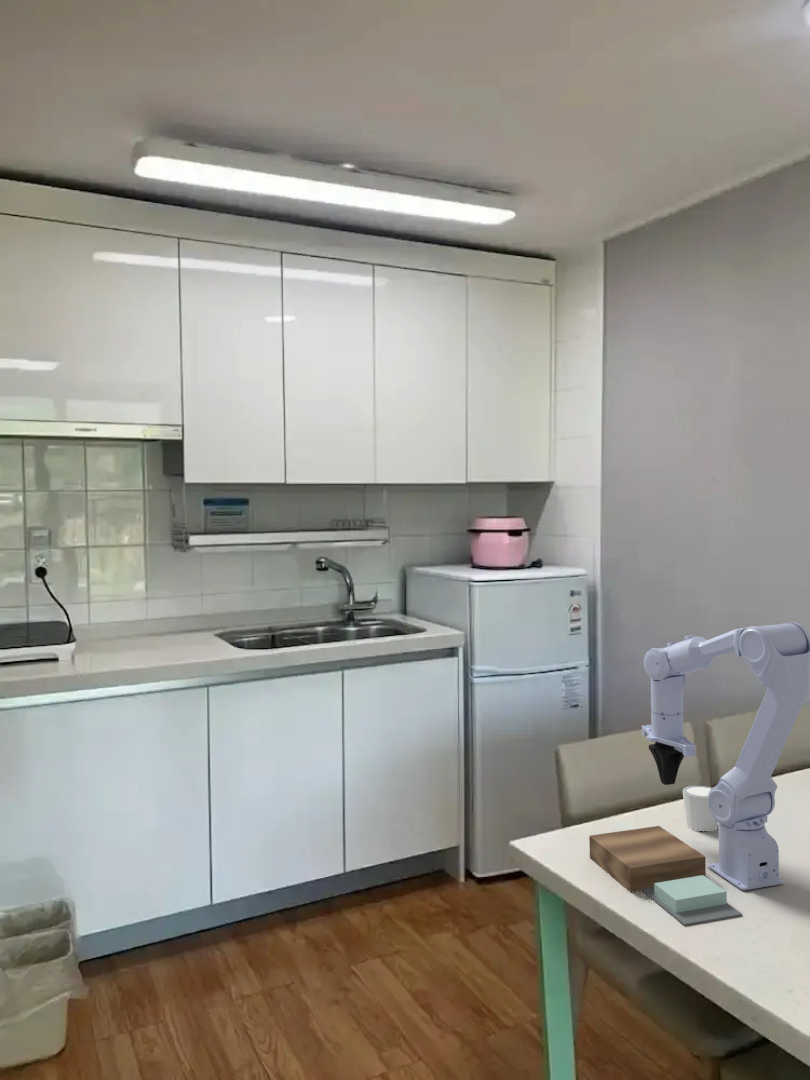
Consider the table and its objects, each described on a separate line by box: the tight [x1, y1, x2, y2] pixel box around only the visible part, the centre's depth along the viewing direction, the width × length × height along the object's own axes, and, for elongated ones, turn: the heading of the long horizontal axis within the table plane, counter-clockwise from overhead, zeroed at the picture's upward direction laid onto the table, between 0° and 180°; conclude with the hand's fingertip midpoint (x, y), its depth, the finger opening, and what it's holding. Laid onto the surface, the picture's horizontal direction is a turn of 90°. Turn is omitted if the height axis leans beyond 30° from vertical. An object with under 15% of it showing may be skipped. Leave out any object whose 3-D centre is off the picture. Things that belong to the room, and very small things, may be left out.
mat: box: [641, 887, 743, 927], centre depth 131 cm, size 12×10×1 cm
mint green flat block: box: [654, 875, 728, 913], centre depth 131 cm, size 6×9×2 cm, turn 105°
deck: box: [588, 825, 707, 893], centre depth 143 cm, size 14×14×4 cm
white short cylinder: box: [682, 785, 718, 833], centre depth 161 cm, size 7×7×7 cm
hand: (668, 783), depth 155 cm, fingers closed
